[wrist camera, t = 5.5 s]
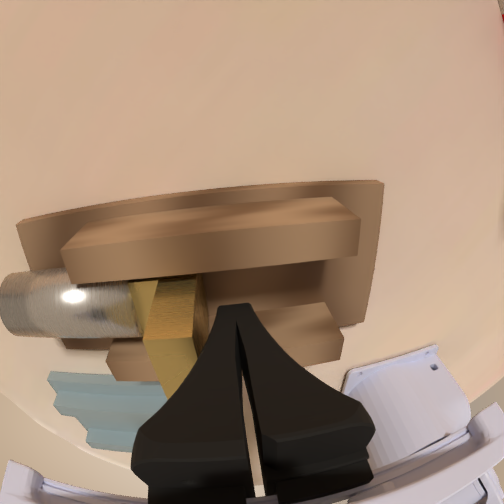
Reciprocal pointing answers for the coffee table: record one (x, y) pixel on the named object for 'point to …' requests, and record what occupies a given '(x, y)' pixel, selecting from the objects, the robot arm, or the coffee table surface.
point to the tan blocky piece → (172, 324)
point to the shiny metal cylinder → (66, 307)
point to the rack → (107, 406)
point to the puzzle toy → (501, 7)
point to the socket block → (228, 257)
